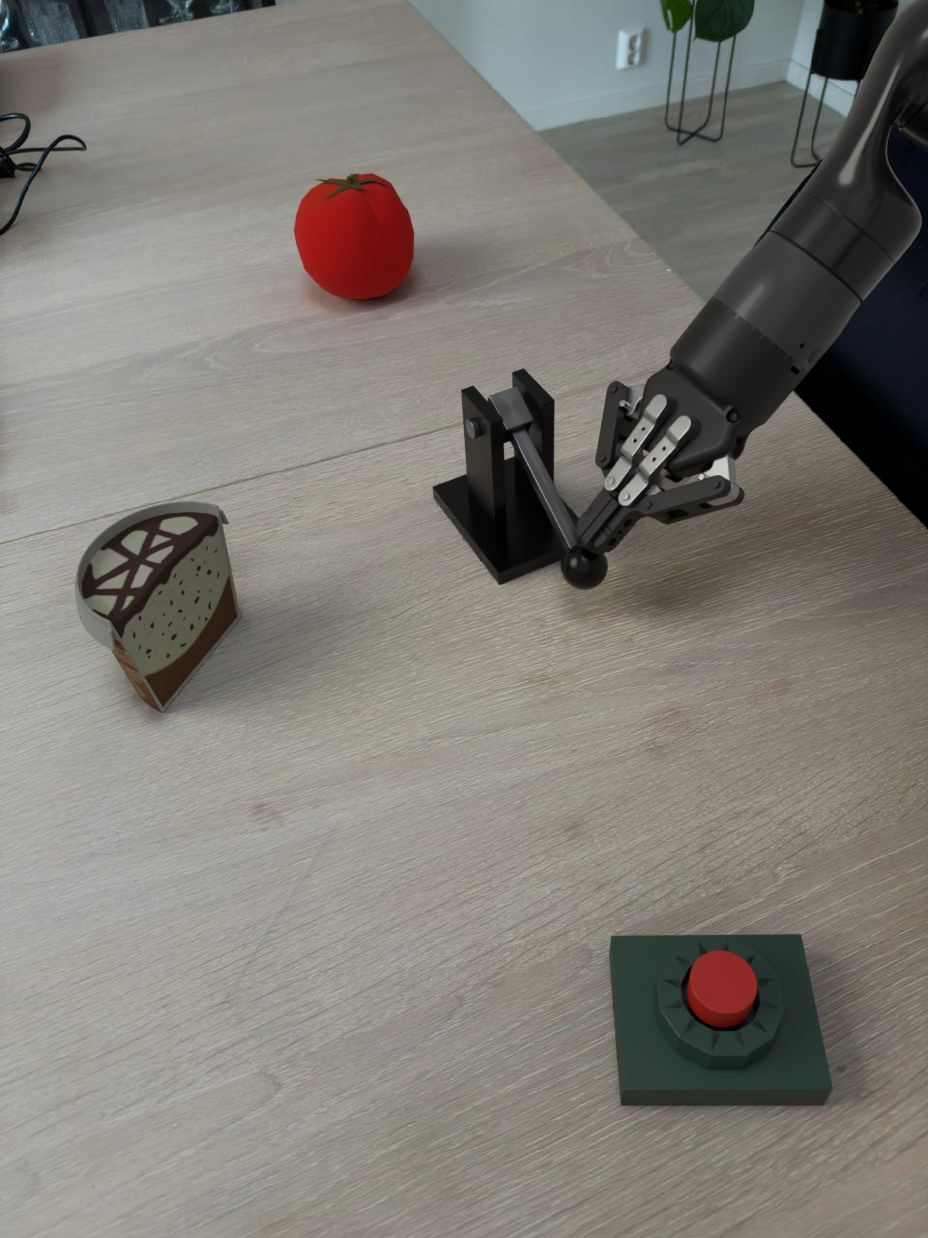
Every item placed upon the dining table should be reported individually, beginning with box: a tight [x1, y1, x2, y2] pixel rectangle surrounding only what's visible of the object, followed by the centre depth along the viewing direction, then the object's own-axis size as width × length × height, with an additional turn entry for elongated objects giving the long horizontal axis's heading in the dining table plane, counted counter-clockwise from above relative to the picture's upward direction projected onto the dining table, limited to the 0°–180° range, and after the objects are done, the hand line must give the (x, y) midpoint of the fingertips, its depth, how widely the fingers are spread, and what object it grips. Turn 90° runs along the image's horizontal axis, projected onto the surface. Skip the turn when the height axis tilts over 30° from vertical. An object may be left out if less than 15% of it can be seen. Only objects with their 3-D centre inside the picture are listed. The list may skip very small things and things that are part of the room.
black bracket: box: [432, 367, 580, 585], centre depth 79 cm, size 11×8×12 cm
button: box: [687, 951, 757, 1028], centre depth 54 cm, size 3×3×2 cm
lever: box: [486, 386, 609, 591], centre depth 75 cm, size 15×3×3 cm, turn 27°
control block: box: [608, 933, 834, 1106], centre depth 55 cm, size 10×8×4 cm
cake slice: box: [74, 500, 242, 714], centre depth 73 cm, size 12×6×10 cm, turn 154°
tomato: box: [293, 172, 415, 300], centre depth 104 cm, size 12×12×11 cm
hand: (587, 545), depth 72 cm, fingers closed
